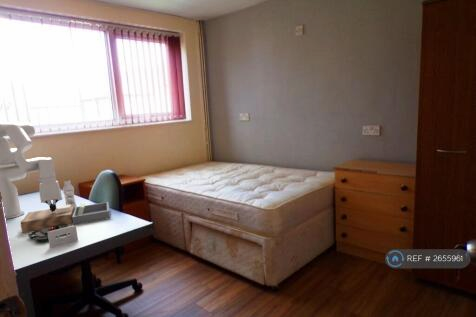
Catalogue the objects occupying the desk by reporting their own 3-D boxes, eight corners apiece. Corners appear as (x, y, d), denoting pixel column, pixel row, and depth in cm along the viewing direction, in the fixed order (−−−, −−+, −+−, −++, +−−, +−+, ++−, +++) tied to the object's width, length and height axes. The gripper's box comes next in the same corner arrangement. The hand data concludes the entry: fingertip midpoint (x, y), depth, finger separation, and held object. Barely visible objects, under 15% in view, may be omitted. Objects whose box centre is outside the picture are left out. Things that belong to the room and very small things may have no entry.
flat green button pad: (27, 238, 165) (25, 229, 165) (64, 227, 179) (62, 219, 178) (40, 246, 154) (38, 236, 153) (78, 233, 167) (77, 224, 167)
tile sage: (79, 206, 187) (84, 207, 188) (80, 203, 194) (84, 204, 195) (76, 218, 188) (81, 218, 188) (77, 214, 194) (82, 215, 195)
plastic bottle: (66, 213, 204) (61, 182, 201) (66, 210, 210) (61, 180, 207) (77, 211, 207) (72, 180, 204) (77, 208, 213) (72, 178, 210)
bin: (73, 224, 180) (72, 217, 180) (76, 214, 201) (75, 207, 200) (109, 218, 187) (108, 210, 187) (109, 208, 208) (108, 201, 207)
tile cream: (56, 213, 184) (55, 209, 183) (58, 210, 190) (57, 206, 190) (70, 211, 186) (69, 207, 186) (71, 208, 192) (70, 204, 192)
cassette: (77, 240, 157) (75, 224, 156) (78, 241, 156) (76, 225, 155) (49, 247, 151) (46, 231, 149) (50, 248, 149) (47, 232, 148)
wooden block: (22, 233, 172) (20, 222, 172) (30, 222, 191) (28, 212, 190) (72, 224, 181) (70, 214, 180) (75, 214, 200) (74, 205, 199)
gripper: (31, 183, 177) (37, 215, 180) (62, 179, 182) (67, 210, 185) (34, 180, 184) (39, 211, 187) (64, 176, 189) (68, 207, 192)
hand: (53, 211), depth 186 cm, fingers closed
